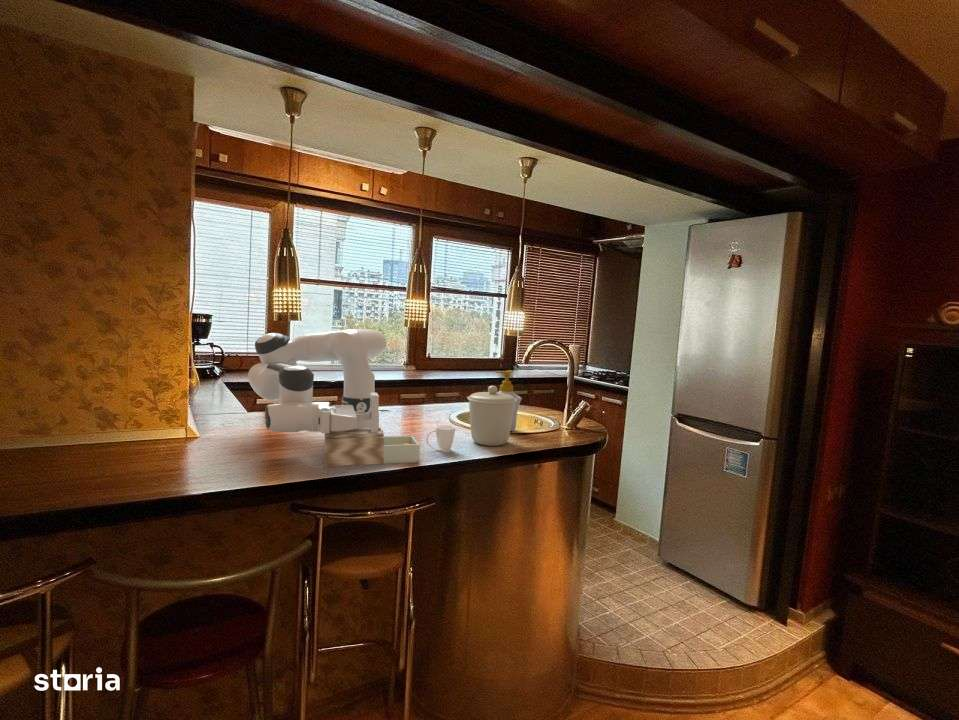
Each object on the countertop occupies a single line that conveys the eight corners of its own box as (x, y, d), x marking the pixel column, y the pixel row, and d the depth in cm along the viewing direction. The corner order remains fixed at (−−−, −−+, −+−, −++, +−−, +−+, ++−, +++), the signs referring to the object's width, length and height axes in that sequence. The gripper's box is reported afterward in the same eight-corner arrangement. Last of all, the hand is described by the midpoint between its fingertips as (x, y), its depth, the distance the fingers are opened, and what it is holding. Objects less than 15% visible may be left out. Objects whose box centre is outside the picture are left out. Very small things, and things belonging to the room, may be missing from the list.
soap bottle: (482, 428, 202) (485, 369, 200) (504, 425, 210) (508, 368, 208) (503, 435, 192) (506, 372, 190) (526, 431, 200) (529, 371, 198)
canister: (479, 434, 192) (482, 380, 190) (522, 441, 184) (525, 385, 182) (456, 443, 176) (458, 385, 174) (501, 452, 168) (505, 391, 166)
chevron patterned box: (324, 466, 143) (325, 436, 142) (324, 455, 154) (324, 427, 153) (383, 463, 149) (384, 435, 148) (379, 453, 159) (380, 426, 159)
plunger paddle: (370, 434, 149) (372, 395, 148) (369, 430, 155) (370, 392, 154) (377, 434, 150) (378, 395, 149) (375, 430, 155) (376, 392, 154)
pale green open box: (383, 463, 149) (384, 445, 148) (379, 453, 159) (379, 436, 159) (418, 462, 152) (419, 444, 151) (412, 452, 163) (412, 435, 162)
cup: (457, 452, 165) (458, 428, 164) (428, 454, 161) (429, 430, 161) (451, 447, 171) (452, 424, 171) (423, 448, 168) (424, 425, 167)
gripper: (322, 419, 157) (367, 418, 162) (323, 435, 138) (373, 433, 142) (323, 400, 157) (367, 400, 161) (323, 412, 137) (374, 412, 142)
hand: (370, 416), depth 151 cm, fingers closed
